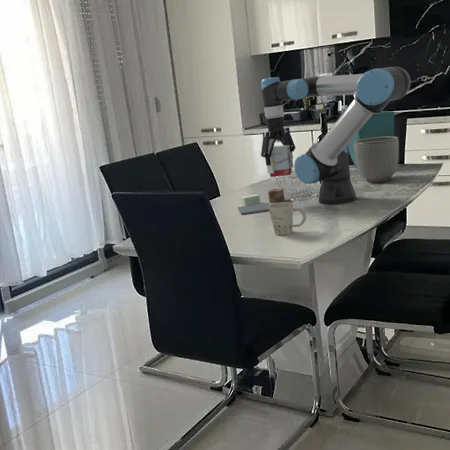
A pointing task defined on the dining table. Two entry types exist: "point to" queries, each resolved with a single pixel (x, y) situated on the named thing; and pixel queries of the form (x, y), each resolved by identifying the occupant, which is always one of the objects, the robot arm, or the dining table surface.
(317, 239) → the dining table surface
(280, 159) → the ink box
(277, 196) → the walnut block
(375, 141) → the planter
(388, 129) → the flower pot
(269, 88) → the robot arm
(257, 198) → the sage block
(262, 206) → the slate pad
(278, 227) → the mug
